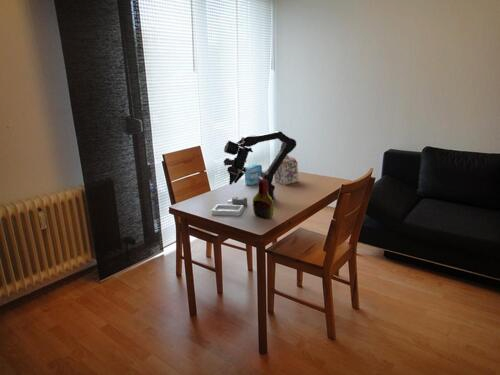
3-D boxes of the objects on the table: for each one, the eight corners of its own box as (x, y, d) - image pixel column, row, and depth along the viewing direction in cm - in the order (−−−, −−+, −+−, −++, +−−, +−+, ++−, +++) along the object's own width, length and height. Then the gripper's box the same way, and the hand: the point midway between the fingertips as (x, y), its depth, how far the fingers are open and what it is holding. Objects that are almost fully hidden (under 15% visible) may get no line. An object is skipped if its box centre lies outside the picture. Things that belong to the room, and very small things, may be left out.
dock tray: (243, 209, 194) (243, 205, 194) (239, 215, 186) (239, 211, 185) (217, 208, 198) (217, 204, 197) (212, 214, 190) (211, 210, 189)
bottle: (276, 216, 182) (275, 179, 176) (269, 221, 177) (267, 182, 171) (258, 212, 189) (256, 176, 183) (250, 216, 185) (248, 179, 179)
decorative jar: (288, 178, 247) (287, 152, 242) (298, 181, 238) (298, 155, 232) (273, 181, 242) (272, 155, 236) (283, 185, 232) (283, 158, 227)
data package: (250, 185, 235) (249, 168, 231) (245, 184, 238) (244, 167, 234) (262, 181, 243) (261, 164, 239) (257, 180, 246) (257, 163, 242)
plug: (248, 204, 202) (247, 197, 201) (246, 206, 199) (246, 199, 197) (229, 203, 205) (229, 197, 203) (227, 205, 201) (227, 199, 200)
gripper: (233, 152, 208) (224, 177, 211) (223, 152, 190) (214, 180, 193) (250, 158, 206) (241, 184, 209) (242, 159, 188) (232, 187, 191)
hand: (232, 183), depth 200 cm, fingers open, 9 cm apart
